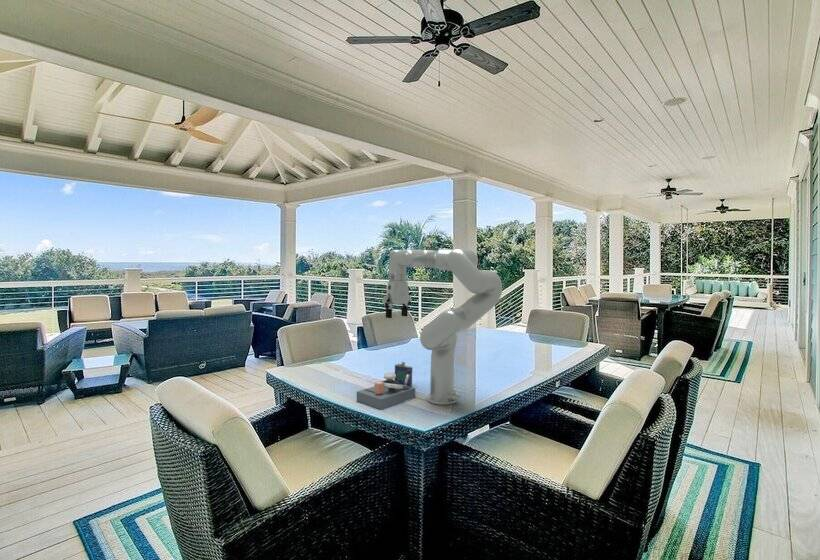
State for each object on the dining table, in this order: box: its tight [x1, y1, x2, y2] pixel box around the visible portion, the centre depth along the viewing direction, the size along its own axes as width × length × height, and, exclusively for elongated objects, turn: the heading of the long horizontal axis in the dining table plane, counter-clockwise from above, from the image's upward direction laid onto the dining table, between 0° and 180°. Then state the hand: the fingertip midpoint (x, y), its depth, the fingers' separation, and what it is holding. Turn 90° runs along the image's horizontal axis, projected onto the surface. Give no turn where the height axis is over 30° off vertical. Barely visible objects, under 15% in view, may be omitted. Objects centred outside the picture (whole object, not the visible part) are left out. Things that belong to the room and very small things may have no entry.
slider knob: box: [374, 381, 384, 394], centre depth 166 cm, size 2×3×4 cm
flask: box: [393, 361, 413, 387], centre depth 193 cm, size 9×3×11 cm, turn 59°
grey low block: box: [356, 379, 416, 411], centre depth 172 cm, size 14×20×6 cm
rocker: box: [384, 383, 403, 389], centre depth 169 cm, size 4×8×1 cm, turn 139°
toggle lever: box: [404, 369, 413, 387], centre depth 174 cm, size 2×2×7 cm
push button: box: [383, 372, 396, 382], centre depth 178 cm, size 5×5×3 cm
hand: (396, 317), depth 184 cm, fingers open, 9 cm apart
